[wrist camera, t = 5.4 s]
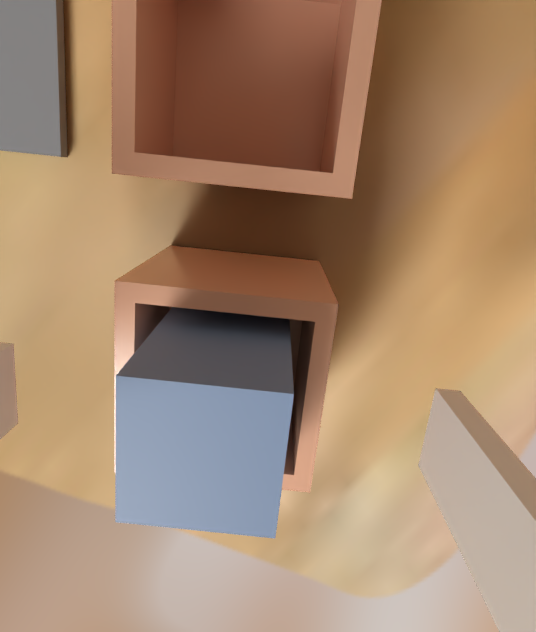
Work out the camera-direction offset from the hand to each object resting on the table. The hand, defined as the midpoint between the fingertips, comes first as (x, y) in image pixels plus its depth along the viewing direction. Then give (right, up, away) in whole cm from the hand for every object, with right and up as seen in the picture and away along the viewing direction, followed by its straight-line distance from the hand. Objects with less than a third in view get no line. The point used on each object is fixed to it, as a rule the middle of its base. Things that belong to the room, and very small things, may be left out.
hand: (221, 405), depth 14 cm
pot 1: (+1, +11, +4) cm, 12 cm away
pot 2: (0, +2, +7) cm, 7 cm away
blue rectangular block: (0, +2, +4) cm, 5 cm away
